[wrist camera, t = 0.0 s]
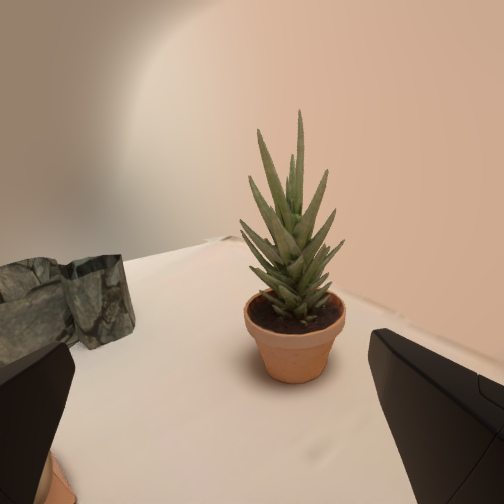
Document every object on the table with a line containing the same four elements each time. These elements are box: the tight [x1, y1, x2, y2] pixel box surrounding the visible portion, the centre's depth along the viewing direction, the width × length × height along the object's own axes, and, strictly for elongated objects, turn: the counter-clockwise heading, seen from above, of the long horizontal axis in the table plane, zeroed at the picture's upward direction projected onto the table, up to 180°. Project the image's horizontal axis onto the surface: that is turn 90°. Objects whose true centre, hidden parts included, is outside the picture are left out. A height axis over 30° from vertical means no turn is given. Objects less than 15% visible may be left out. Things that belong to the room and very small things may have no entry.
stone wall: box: [0, 254, 135, 368], centre depth 35 cm, size 35×19×10 cm, turn 110°
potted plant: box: [240, 109, 346, 384], centre depth 28 cm, size 10×10×25 cm
